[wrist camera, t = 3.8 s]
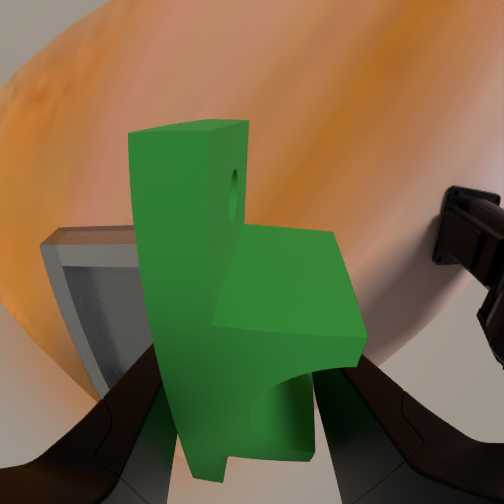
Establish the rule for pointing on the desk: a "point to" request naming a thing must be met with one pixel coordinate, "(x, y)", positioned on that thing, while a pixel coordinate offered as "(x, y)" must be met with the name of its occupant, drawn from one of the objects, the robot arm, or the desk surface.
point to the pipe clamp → (234, 300)
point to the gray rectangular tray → (100, 297)
